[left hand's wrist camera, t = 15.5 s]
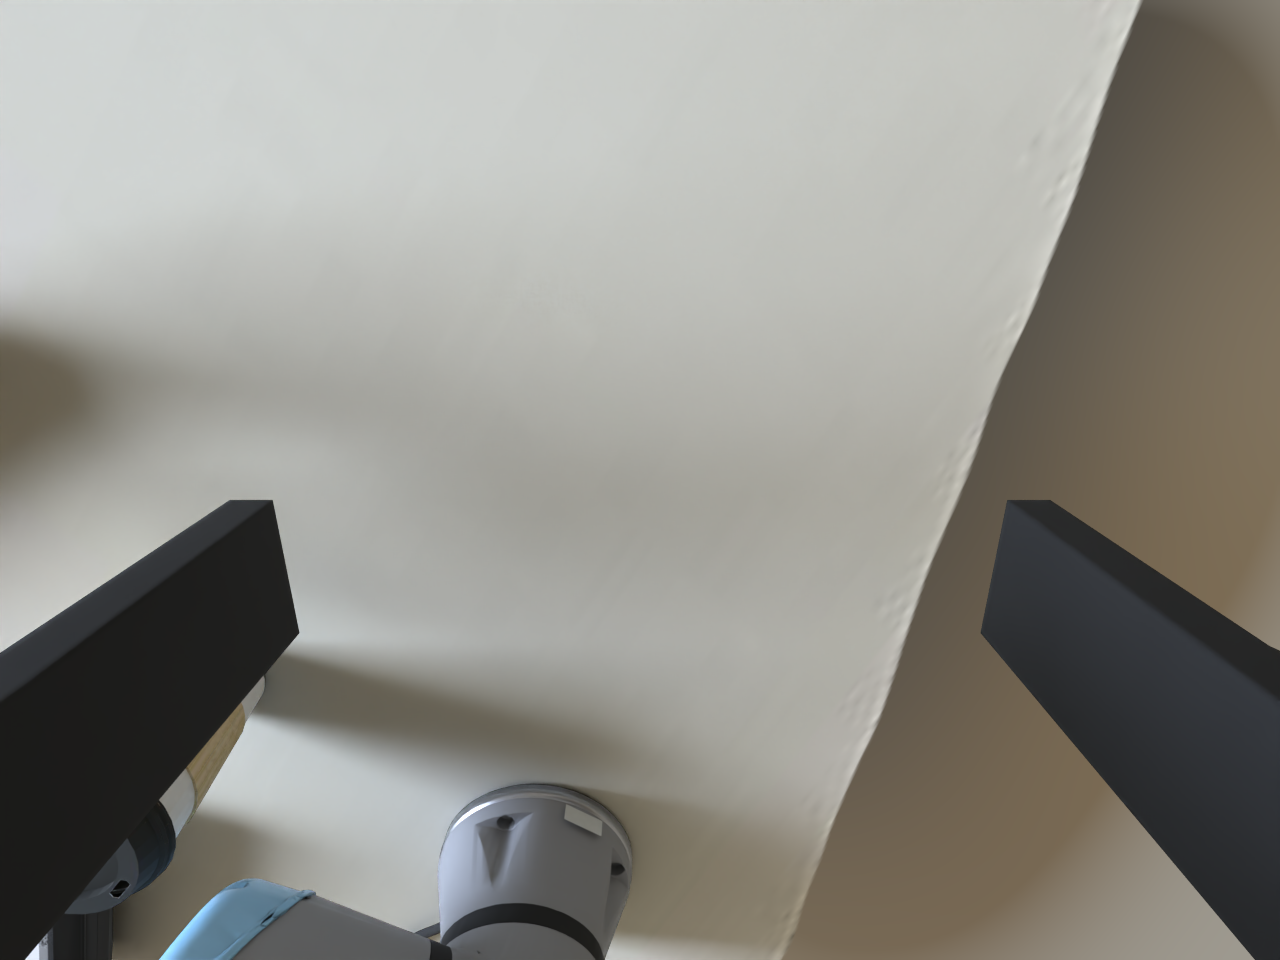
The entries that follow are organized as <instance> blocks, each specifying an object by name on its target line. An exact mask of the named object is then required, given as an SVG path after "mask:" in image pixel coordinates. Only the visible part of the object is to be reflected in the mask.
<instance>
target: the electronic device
mask: <svg viewBox="0 0 1280 960" xmlns="http://www.w3.org/2000/svg"><path fill="white" fill-rule="evenodd" d="M112 947H113V907H112V908H110V909H107V910H104V911H101V912H97V913H89V914H65V913H64V914H63V915H62V916H61V917H60V919H59V920H58V921H57V922H56V923H55V925H54V926H53V927H52V928H51V929H50V931H49V932H48V933H47V934H46V935H45V937H44V938H43V939H42V940H41V941H40V942H39V944H38V945H37V946H36V947H35V948H34V950H33V951H32V952H31V953H30V954H29V956H28V957H27V958H26V959H25V960H111V958H112Z"/></svg>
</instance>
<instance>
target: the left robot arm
mask: <svg viewBox="0 0 1280 960" xmlns="http://www.w3.org/2000/svg"><path fill="white" fill-rule="evenodd" d="M298 634H299V629H298V624H297V619H296V614H295V609H294V604H293V599H292V594H291V589H290V584H289V579H288V574H287V569H286V564H285V559H284V554H283V549H282V544H281V539H280V534H279V529H278V524H277V519H276V514H275V509H274V504H273V500H229V501H228V502H226V503H225V504H223V505H222V506H220V507H219V508H217V509H216V510H214V511H213V512H211V513H210V514H208V515H207V516H205V517H204V518H202V519H201V520H199V521H198V522H196V523H195V524H193V525H192V526H190V527H189V528H187V529H186V530H184V531H183V532H181V533H180V534H178V535H177V536H175V537H174V538H172V539H171V540H169V541H168V542H166V543H165V544H163V545H162V546H160V547H159V548H157V549H156V550H154V551H153V552H151V553H150V554H148V555H147V556H145V557H144V558H142V559H141V560H139V561H138V562H136V563H135V564H133V565H132V566H130V567H129V568H127V569H126V570H124V571H123V572H121V573H120V574H118V575H117V576H115V577H114V578H112V579H111V580H109V581H108V582H106V583H105V584H103V585H102V586H100V587H99V588H97V589H96V590H94V591H93V592H91V593H90V594H88V595H87V596H85V597H84V598H82V599H81V600H79V601H78V602H76V603H75V604H73V605H72V606H70V607H69V608H67V609H66V610H64V611H63V612H61V613H60V614H58V615H57V616H55V617H54V618H52V619H50V620H49V621H47V622H46V623H44V624H43V625H41V626H40V627H38V628H37V629H35V630H34V631H32V632H31V633H29V634H28V635H26V636H25V637H23V638H22V639H20V640H19V641H17V642H16V643H14V644H13V645H11V646H10V647H8V648H7V649H5V650H4V651H2V652H1V653H0V960H25V959H26V958H27V957H28V956H29V954H30V953H31V952H32V951H33V950H34V948H35V947H36V946H37V945H38V944H39V942H40V941H41V940H42V939H43V938H44V937H45V935H46V934H47V933H48V932H49V931H50V929H51V928H52V927H53V926H54V925H55V923H56V922H57V921H58V920H59V919H60V917H61V916H62V915H63V914H64V913H65V912H66V910H67V909H68V908H69V907H70V906H71V904H72V903H73V902H74V901H75V900H76V898H77V897H78V896H79V895H80V894H81V892H82V891H83V890H84V889H85V888H86V886H87V885H88V884H89V883H90V882H91V881H92V879H93V878H94V877H95V876H96V875H97V873H98V872H99V871H100V870H101V869H102V867H103V866H104V865H105V864H106V863H107V861H108V860H109V859H110V858H111V857H112V856H113V854H114V853H115V852H116V851H117V850H118V848H119V847H120V846H121V845H122V844H123V842H124V841H125V840H126V839H127V838H128V836H129V835H130V834H131V833H132V832H133V830H134V829H135V828H136V827H137V826H138V825H139V823H140V822H141V821H142V820H143V819H144V817H145V816H146V815H147V814H148V813H149V811H150V810H151V809H152V808H153V807H154V805H155V804H156V803H157V802H158V801H159V800H160V798H161V797H162V796H163V795H164V794H165V792H166V791H167V790H168V789H169V788H170V786H171V785H172V784H173V783H174V782H175V780H176V779H177V778H178V777H179V776H180V775H181V773H182V772H183V771H184V770H185V769H186V767H187V766H188V765H189V764H190V763H191V761H192V760H193V759H194V758H195V757H196V755H197V754H198V753H199V752H200V751H201V749H202V748H203V747H204V746H205V745H206V744H207V742H208V741H209V740H210V739H211V738H212V736H213V735H214V734H215V733H216V732H217V730H218V729H219V728H220V727H221V726H222V724H223V723H224V722H225V721H226V720H227V719H228V717H229V716H230V715H231V714H232V713H233V711H234V710H235V709H236V708H237V707H238V705H239V704H240V703H241V702H242V701H243V699H244V698H245V697H246V696H247V695H248V693H249V692H250V691H251V690H252V689H253V688H254V686H255V685H256V684H257V683H258V682H259V680H260V679H261V678H262V677H263V676H264V674H265V673H266V672H267V671H268V670H269V668H270V667H271V666H272V665H273V664H274V663H275V661H276V660H277V659H278V658H279V657H280V655H281V654H282V653H283V652H284V651H285V649H286V648H287V647H288V646H289V645H290V643H291V642H292V641H293V640H294V639H295V638H296V636H297V635H298ZM981 634H982V635H983V636H984V638H985V639H986V640H987V641H988V642H989V643H990V645H991V646H992V647H993V648H994V649H995V651H996V652H997V653H998V654H999V655H1000V657H1001V658H1002V659H1003V660H1004V661H1005V663H1006V664H1007V665H1008V666H1009V667H1010V668H1011V670H1012V671H1013V672H1014V673H1015V674H1016V676H1017V677H1018V678H1019V679H1020V680H1021V682H1022V683H1023V684H1024V685H1025V686H1026V688H1027V689H1028V690H1029V691H1030V692H1031V693H1032V695H1033V696H1034V697H1035V698H1036V699H1037V701H1038V702H1039V703H1040V704H1041V705H1042V707H1043V708H1044V709H1045V710H1046V711H1047V713H1048V714H1049V715H1050V716H1051V717H1052V719H1053V720H1054V721H1055V722H1056V723H1057V724H1058V726H1059V727H1060V728H1061V729H1062V730H1063V732H1064V733H1065V734H1066V735H1067V736H1068V738H1069V739H1070V740H1071V741H1072V742H1073V744H1074V745H1075V746H1076V747H1077V748H1078V749H1079V751H1080V752H1081V753H1082V754H1083V755H1084V757H1085V758H1086V759H1087V760H1088V761H1089V763H1090V764H1091V765H1092V766H1093V767H1094V769H1095V770H1096V771H1097V772H1098V773H1099V775H1100V776H1101V777H1102V778H1103V779H1104V780H1105V782H1106V783H1107V784H1108V785H1109V786H1110V788H1111V789H1112V790H1113V791H1114V792H1115V794H1116V795H1117V796H1118V797H1119V798H1120V799H1121V801H1122V802H1123V803H1124V804H1125V805H1126V807H1127V808H1128V809H1129V810H1130V811H1131V813H1132V814H1133V815H1134V816H1135V817H1136V819H1137V820H1138V821H1139V822H1140V823H1141V825H1142V826H1143V827H1144V828H1145V829H1146V830H1147V832H1148V833H1149V834H1150V835H1151V836H1152V838H1153V839H1154V840H1155V841H1156V842H1157V844H1158V845H1159V846H1160V847H1161V848H1162V850H1163V851H1164V852H1165V853H1166V854H1167V856H1168V857H1169V858H1170V859H1171V860H1172V861H1173V863H1174V864H1175V865H1176V866H1177V867H1178V869H1179V870H1180V871H1181V872H1182V873H1183V875H1184V876H1185V877H1186V878H1187V879H1188V881H1189V882H1190V883H1191V884H1192V885H1193V886H1194V888H1195V889H1196V890H1197V891H1198V892H1199V894H1200V895H1201V896H1202V897H1203V898H1204V900H1205V901H1206V902H1207V903H1208V904H1209V906H1210V907H1211V908H1212V909H1213V910H1214V912H1215V913H1216V914H1217V915H1218V916H1219V917H1220V919H1221V920H1222V921H1223V922H1224V923H1225V925H1226V926H1227V927H1228V928H1229V929H1230V931H1231V932H1232V933H1233V934H1234V935H1235V937H1236V938H1237V939H1238V940H1239V941H1240V942H1241V944H1242V945H1243V946H1244V947H1245V948H1246V950H1247V951H1248V952H1249V953H1250V954H1251V956H1252V957H1253V958H1254V959H1255V960H1280V651H1279V650H1277V649H1275V648H1273V647H1270V646H1268V645H1267V644H1266V643H1264V642H1262V641H1261V640H1260V639H1258V638H1257V637H1255V636H1254V635H1252V634H1251V633H1249V632H1248V631H1246V630H1245V629H1243V628H1242V627H1240V626H1239V625H1237V624H1236V623H1234V622H1233V621H1231V620H1229V619H1228V618H1226V617H1225V616H1223V615H1222V614H1220V613H1219V612H1217V611H1216V610H1214V609H1213V608H1211V607H1210V606H1208V605H1207V604H1205V603H1204V602H1202V601H1201V600H1199V599H1198V598H1196V597H1195V596H1193V595H1192V594H1190V593H1189V592H1187V591H1186V590H1184V589H1183V588H1181V587H1180V586H1178V585H1177V584H1175V583H1174V582H1172V581H1171V580H1169V579H1168V578H1166V577H1165V576H1163V575H1162V574H1160V573H1159V572H1157V571H1156V570H1154V569H1153V568H1151V567H1150V566H1148V565H1147V564H1145V563H1144V562H1142V561H1141V560H1139V559H1138V558H1136V557H1135V556H1133V555H1132V554H1130V553H1129V552H1127V551H1126V550H1124V549H1123V548H1121V547H1120V546H1118V545H1117V544H1115V543H1114V542H1112V541H1111V540H1109V539H1108V538H1106V537H1105V536H1103V535H1102V534H1100V533H1099V532H1097V531H1096V530H1094V529H1093V528H1091V527H1090V526H1088V525H1087V524H1085V523H1084V522H1082V521H1081V520H1079V519H1078V518H1076V517H1075V516H1073V515H1072V514H1070V513H1069V512H1067V511H1066V510H1064V509H1063V508H1061V507H1060V506H1058V505H1057V504H1055V503H1054V502H1052V501H1051V500H1007V504H1006V510H1005V514H1004V519H1003V524H1002V529H1001V534H1000V539H999V544H998V549H997V554H996V559H995V564H994V569H993V574H992V579H991V584H990V589H989V594H988V599H987V604H986V609H985V614H984V619H983V624H982V629H981ZM631 878H632V851H631V846H630V842H629V839H628V837H627V834H626V832H625V831H624V829H623V827H622V826H621V824H620V823H619V822H618V820H617V819H616V818H615V817H614V816H613V815H612V814H611V813H610V812H609V811H608V810H607V809H606V808H604V807H603V806H602V805H600V804H599V803H597V802H596V801H594V800H592V799H591V798H589V797H587V796H585V795H583V794H580V793H577V792H575V791H572V790H569V789H565V788H561V787H556V786H550V785H539V784H526V785H516V786H510V787H505V788H501V789H498V790H495V791H492V792H489V793H487V794H485V795H483V796H481V797H479V798H477V799H476V800H474V801H473V802H471V803H470V804H468V805H467V806H466V807H465V808H464V809H462V810H461V812H460V813H459V814H458V815H457V816H456V817H455V819H454V820H453V821H452V823H451V825H450V827H449V829H448V831H447V834H446V837H445V840H444V843H443V846H442V849H441V853H440V860H439V867H438V890H439V911H440V923H437V924H435V925H433V926H430V927H427V928H425V929H422V930H420V931H418V932H416V933H412V932H409V931H406V930H404V929H401V928H399V927H396V926H393V925H391V924H388V923H386V922H383V921H380V920H378V919H375V918H373V917H370V916H368V915H365V914H362V913H360V912H357V911H355V910H352V909H349V908H347V907H344V906H342V905H339V904H337V903H334V902H331V901H329V900H326V899H324V898H321V897H318V896H316V893H315V892H314V891H312V890H303V891H298V890H295V889H292V888H288V887H285V886H282V885H279V884H275V883H272V882H269V881H266V880H262V879H258V878H249V879H243V880H240V881H237V882H235V883H233V884H231V885H229V886H227V887H226V888H224V889H223V890H222V891H220V892H219V893H218V894H217V895H216V896H215V897H213V898H212V899H211V900H210V901H209V902H208V903H207V904H206V905H205V906H204V907H203V908H202V909H201V910H200V911H199V912H198V914H197V915H196V916H195V917H194V918H193V919H192V920H191V921H190V923H189V924H188V925H187V926H186V927H185V929H184V930H183V931H182V932H181V933H180V934H179V936H178V937H177V938H176V939H175V940H174V942H173V943H172V944H171V945H170V947H169V948H168V949H167V950H166V952H165V953H164V954H163V956H162V957H161V958H160V959H159V960H605V957H606V954H607V951H608V949H609V946H610V943H611V941H612V938H613V935H614V933H615V930H616V927H617V925H618V922H619V919H620V917H621V914H622V911H623V909H624V906H625V903H626V901H627V898H628V894H629V890H630V884H631ZM438 933H441V940H440V943H438V942H435V941H433V940H430V939H428V937H431V936H433V935H436V934H438Z"/></svg>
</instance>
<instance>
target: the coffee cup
mask: <svg viewBox="0 0 1280 960" xmlns="http://www.w3.org/2000/svg"><path fill="white" fill-rule="evenodd" d="M264 688H265V679H264V676H263V677H262V678H261V679H260V680H259V682H258V683H257V684H256V685H255V686H254V688H253V689H252V690H251V691H250V692H249V693H248V695H247V696H246V697H245V698H244V699H243V701H242V702H241V703H240V704H239V705H238V707H237V708H236V709H235V710H234V711H233V713H232V714H231V715H230V716H229V717H228V719H227V720H226V721H225V722H224V723H223V724H222V726H221V727H220V728H219V729H218V730H217V732H216V733H215V734H214V735H213V736H212V738H211V739H210V740H209V741H208V742H207V744H206V745H205V746H204V747H203V748H202V749H201V751H200V752H199V753H198V754H197V755H196V757H195V758H194V759H193V760H192V761H191V763H190V764H189V765H188V766H187V767H186V769H185V770H184V771H183V772H182V773H181V775H180V776H179V777H178V778H177V779H176V780H175V782H174V783H173V784H172V785H171V786H170V788H169V789H168V790H167V791H166V792H165V794H164V795H163V796H162V797H161V798H160V800H159V801H158V802H157V803H156V804H155V805H154V807H153V808H152V809H151V810H150V811H149V813H148V814H147V815H146V816H145V817H144V819H143V820H142V821H141V822H140V823H139V825H138V826H137V827H136V828H135V829H134V830H133V832H132V833H131V834H130V835H129V836H128V838H127V839H126V840H125V841H124V842H123V844H122V845H121V846H120V847H119V848H118V850H117V851H116V852H115V853H114V854H113V856H112V857H111V858H110V859H109V860H108V861H107V863H106V864H105V865H104V866H103V867H102V869H101V870H100V871H99V872H98V873H97V875H96V876H95V877H94V878H93V879H92V881H91V882H90V883H89V884H88V885H87V886H86V888H85V889H84V890H83V891H82V892H81V894H80V895H79V896H78V897H77V898H76V900H75V901H74V902H73V903H72V904H71V906H70V907H69V908H68V909H67V910H66V912H65V914H89V913H97V912H101V911H104V910H107V909H110V908H112V907H114V906H116V905H118V904H120V903H122V902H123V901H124V900H125V899H126V898H127V897H129V896H130V895H131V894H134V893H136V892H138V891H140V890H141V889H143V888H145V887H147V886H148V885H149V884H150V883H152V882H153V881H154V880H155V879H156V878H157V877H158V876H159V875H160V874H161V873H162V872H163V871H164V870H165V869H166V868H167V866H168V865H169V863H170V862H171V860H172V858H173V855H174V851H175V848H176V837H177V836H178V834H179V832H180V831H181V829H182V828H183V827H184V826H185V825H186V824H187V823H188V822H189V821H190V819H191V818H192V816H193V815H194V813H195V811H196V810H197V808H198V806H199V805H200V803H201V801H202V799H203V798H204V796H205V794H206V793H207V791H208V789H209V788H210V786H211V784H212V783H213V781H214V779H215V777H216V776H217V774H218V772H219V771H220V769H221V767H222V766H223V764H224V762H225V761H226V759H227V757H228V755H229V754H230V752H231V750H232V749H233V747H234V745H235V744H236V742H237V740H238V739H239V737H240V735H241V733H242V732H243V728H244V725H245V723H246V721H247V719H248V718H249V716H250V714H251V713H252V711H253V709H254V708H255V706H256V704H257V703H258V701H259V699H260V698H261V696H262V694H263V692H264ZM126 887H128V888H126ZM123 888H126V889H123Z"/></svg>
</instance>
